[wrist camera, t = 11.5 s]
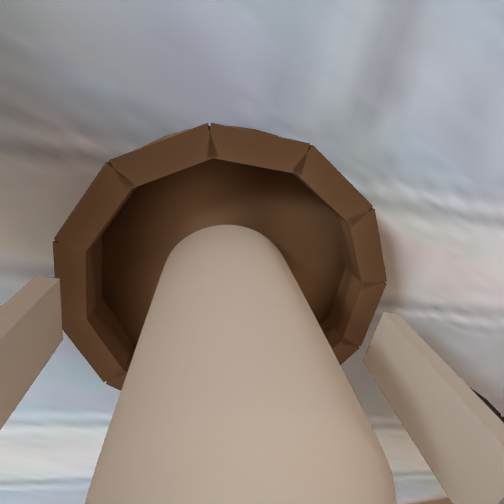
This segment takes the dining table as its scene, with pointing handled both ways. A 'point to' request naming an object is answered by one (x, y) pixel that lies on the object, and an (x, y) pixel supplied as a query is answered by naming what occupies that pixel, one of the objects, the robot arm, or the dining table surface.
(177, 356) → the can
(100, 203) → the round tray
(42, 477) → the dining table surface
